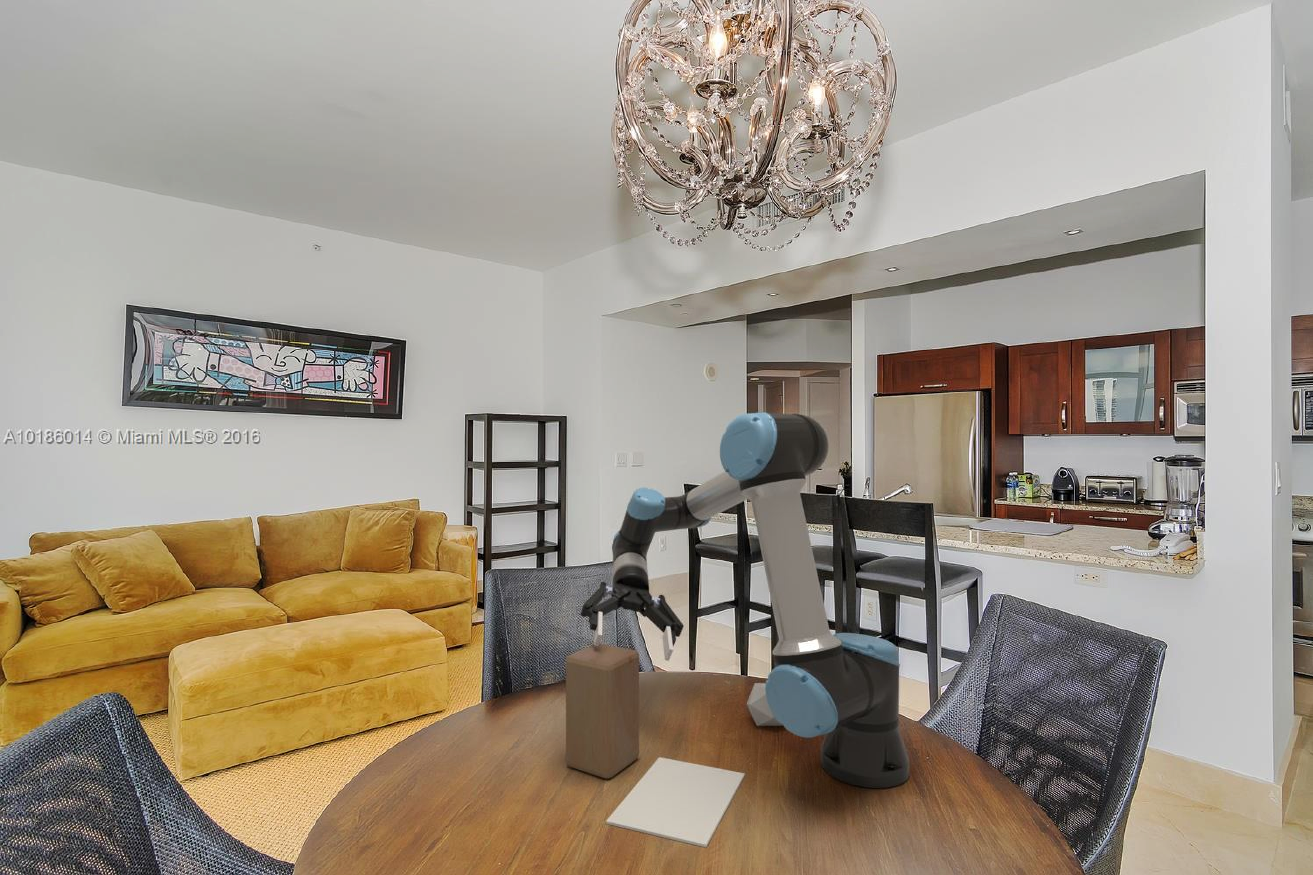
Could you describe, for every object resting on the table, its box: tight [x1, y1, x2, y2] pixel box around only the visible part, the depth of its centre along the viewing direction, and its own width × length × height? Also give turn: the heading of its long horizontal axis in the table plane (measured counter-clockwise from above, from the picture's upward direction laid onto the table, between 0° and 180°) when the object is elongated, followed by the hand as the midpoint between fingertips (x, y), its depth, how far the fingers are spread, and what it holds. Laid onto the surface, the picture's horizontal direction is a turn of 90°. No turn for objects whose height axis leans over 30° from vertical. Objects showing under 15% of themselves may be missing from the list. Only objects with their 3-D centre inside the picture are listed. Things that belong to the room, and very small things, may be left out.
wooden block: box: [565, 642, 640, 779], centre depth 121 cm, size 10×10×20 cm
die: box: [746, 682, 783, 727], centre depth 138 cm, size 8×9×10 cm
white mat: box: [605, 756, 745, 848], centre depth 109 cm, size 16×22×1 cm
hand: (634, 648), depth 123 cm, fingers open, 13 cm apart
